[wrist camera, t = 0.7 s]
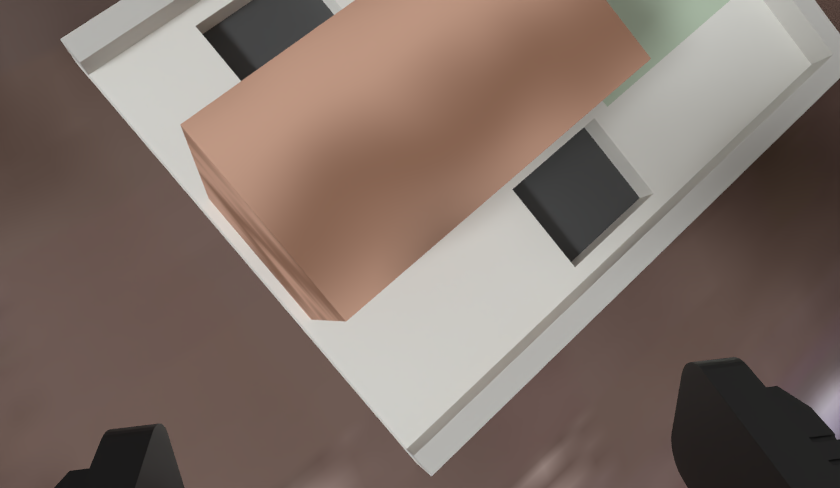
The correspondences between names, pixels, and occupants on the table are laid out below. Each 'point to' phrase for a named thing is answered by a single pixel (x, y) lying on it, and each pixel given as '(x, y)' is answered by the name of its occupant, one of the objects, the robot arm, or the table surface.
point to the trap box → (512, 204)
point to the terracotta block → (397, 131)
